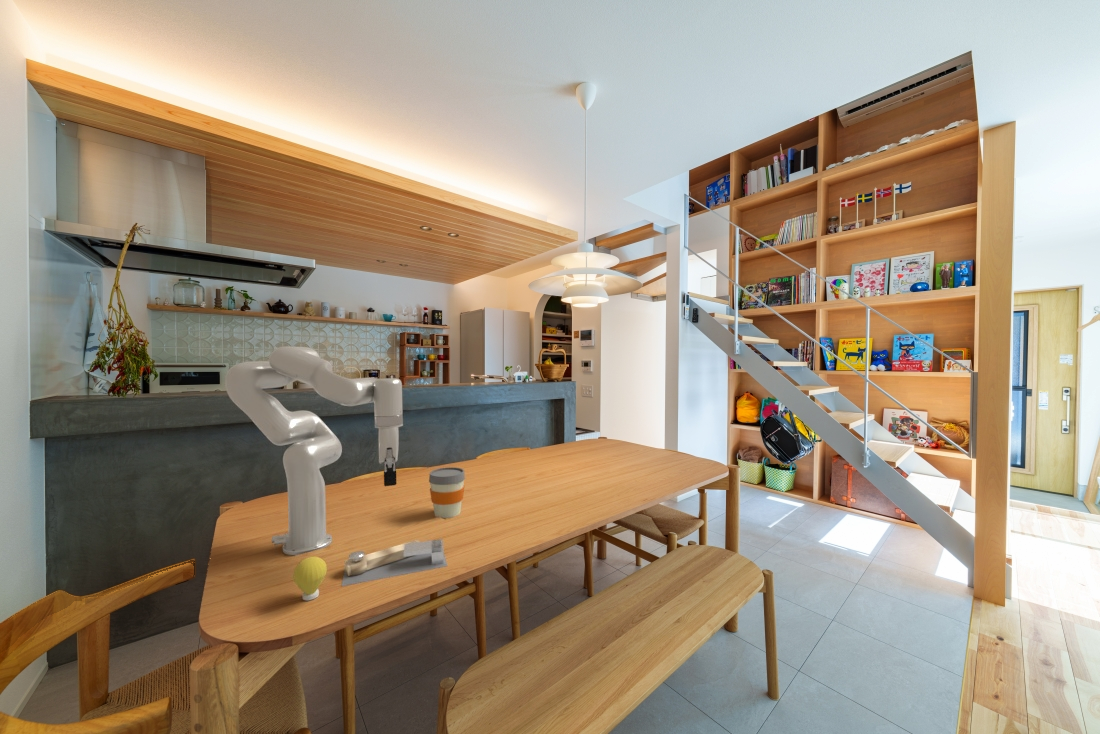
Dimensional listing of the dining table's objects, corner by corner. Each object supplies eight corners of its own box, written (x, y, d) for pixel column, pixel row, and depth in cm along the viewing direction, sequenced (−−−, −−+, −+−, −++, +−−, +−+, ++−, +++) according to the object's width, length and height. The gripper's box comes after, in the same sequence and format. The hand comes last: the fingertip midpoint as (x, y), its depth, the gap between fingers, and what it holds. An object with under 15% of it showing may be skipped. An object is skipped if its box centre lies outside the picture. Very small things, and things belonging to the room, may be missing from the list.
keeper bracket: (403, 569, 105) (403, 552, 105) (404, 559, 110) (404, 543, 110) (443, 563, 108) (443, 546, 108) (442, 554, 112) (442, 538, 112)
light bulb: (333, 592, 96) (332, 550, 96) (317, 609, 90) (316, 565, 89) (304, 593, 96) (303, 551, 96) (287, 610, 89) (286, 566, 89)
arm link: (348, 577, 100) (348, 568, 100) (343, 569, 104) (343, 560, 104) (423, 553, 112) (423, 545, 112) (416, 546, 116) (416, 538, 116)
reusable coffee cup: (421, 516, 142) (421, 474, 142) (446, 504, 154) (445, 465, 153) (449, 522, 137) (448, 478, 136) (472, 510, 148) (472, 469, 147)
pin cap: (348, 564, 102) (348, 559, 102) (349, 557, 105) (349, 552, 105) (364, 561, 103) (364, 556, 103) (364, 555, 106) (364, 550, 106)
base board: (341, 590, 97) (341, 586, 97) (347, 563, 110) (347, 560, 110) (447, 569, 106) (447, 566, 106) (441, 547, 119) (441, 544, 119)
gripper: (375, 418, 123) (376, 474, 123) (373, 426, 107) (375, 491, 107) (401, 416, 126) (403, 471, 126) (403, 424, 109) (405, 487, 110)
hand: (390, 480), depth 116 cm, fingers open, 9 cm apart
